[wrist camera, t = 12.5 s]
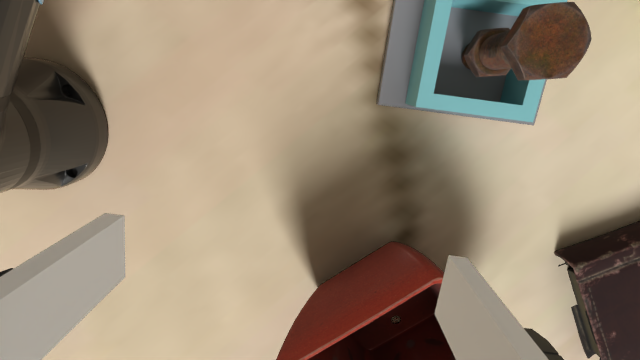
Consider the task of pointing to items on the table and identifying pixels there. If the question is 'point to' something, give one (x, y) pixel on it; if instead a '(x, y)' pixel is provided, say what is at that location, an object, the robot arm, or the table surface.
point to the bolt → (532, 44)
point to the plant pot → (373, 312)
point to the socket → (453, 61)
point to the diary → (607, 292)
